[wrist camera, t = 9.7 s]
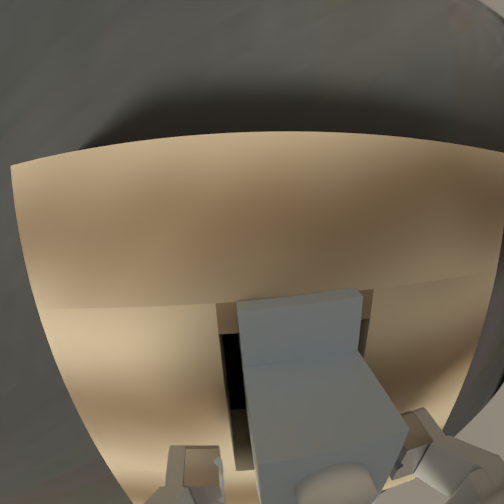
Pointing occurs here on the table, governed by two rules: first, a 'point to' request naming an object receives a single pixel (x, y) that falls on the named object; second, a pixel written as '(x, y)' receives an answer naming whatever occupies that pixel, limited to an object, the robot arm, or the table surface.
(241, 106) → the table surface
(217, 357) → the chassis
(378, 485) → the block
